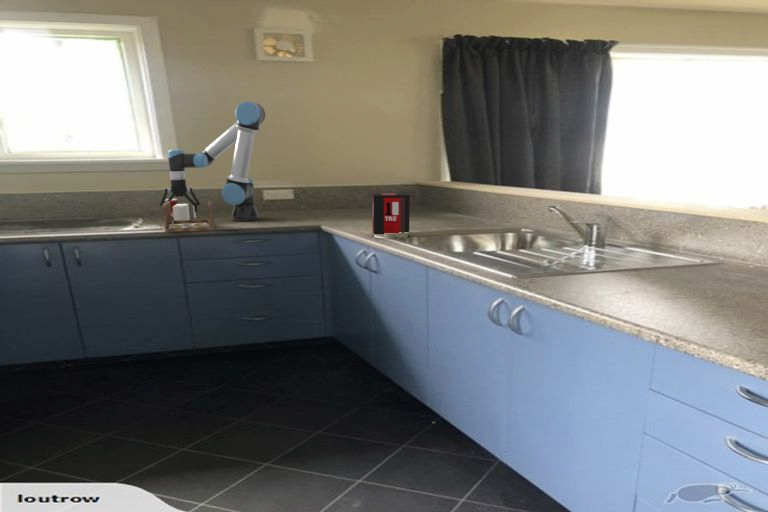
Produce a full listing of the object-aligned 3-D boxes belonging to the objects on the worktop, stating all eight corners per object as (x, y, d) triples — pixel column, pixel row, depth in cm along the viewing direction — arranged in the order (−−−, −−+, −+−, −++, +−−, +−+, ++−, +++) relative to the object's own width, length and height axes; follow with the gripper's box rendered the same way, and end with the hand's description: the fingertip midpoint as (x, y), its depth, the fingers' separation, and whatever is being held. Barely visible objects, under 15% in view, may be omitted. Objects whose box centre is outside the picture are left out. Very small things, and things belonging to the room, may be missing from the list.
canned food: (181, 217, 293) (179, 198, 290) (174, 219, 285) (172, 200, 283) (169, 217, 294) (167, 198, 291) (162, 219, 286) (159, 200, 283)
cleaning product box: (406, 234, 240) (407, 193, 236) (409, 238, 232) (409, 195, 227) (372, 235, 239) (372, 193, 234) (373, 238, 230) (373, 195, 226)
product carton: (186, 225, 267) (184, 206, 265) (173, 225, 266) (172, 206, 264) (189, 221, 279) (188, 203, 276) (178, 221, 277) (176, 204, 275)
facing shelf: (214, 225, 265) (212, 200, 262) (211, 230, 252) (209, 203, 249) (170, 227, 261) (167, 201, 258) (164, 231, 248) (162, 204, 244)
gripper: (203, 178, 273) (206, 216, 278) (154, 178, 268) (158, 218, 273) (201, 179, 266) (204, 218, 271) (151, 180, 261) (155, 220, 265)
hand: (181, 218), depth 272 cm, fingers open, 13 cm apart
